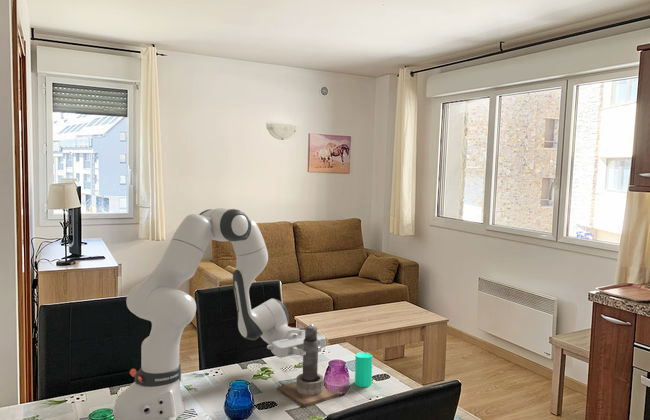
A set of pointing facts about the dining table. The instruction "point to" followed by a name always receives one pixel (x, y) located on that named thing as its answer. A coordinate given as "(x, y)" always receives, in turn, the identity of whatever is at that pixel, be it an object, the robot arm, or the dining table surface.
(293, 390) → the ring holder
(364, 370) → the candle
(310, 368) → the pepper mill
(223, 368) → the dining table surface
